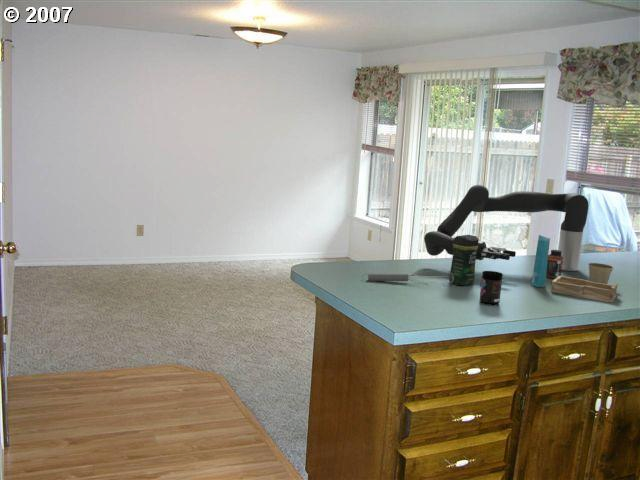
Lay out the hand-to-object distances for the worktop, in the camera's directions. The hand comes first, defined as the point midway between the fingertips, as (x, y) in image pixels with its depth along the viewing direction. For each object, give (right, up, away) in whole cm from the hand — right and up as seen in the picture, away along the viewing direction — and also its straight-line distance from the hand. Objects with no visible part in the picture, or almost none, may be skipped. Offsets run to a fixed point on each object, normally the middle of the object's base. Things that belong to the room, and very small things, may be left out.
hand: (512, 255), depth 258 cm
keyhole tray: (+22, -14, -12) cm, 29 cm away
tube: (+9, -12, -4) cm, 15 cm away
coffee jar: (-22, -10, -8) cm, 25 cm away
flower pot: (+34, -12, +1) cm, 36 cm away
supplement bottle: (+20, -9, +14) cm, 26 cm away
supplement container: (-18, -15, -34) cm, 42 cm away
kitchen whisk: (-42, -10, -13) cm, 45 cm away
